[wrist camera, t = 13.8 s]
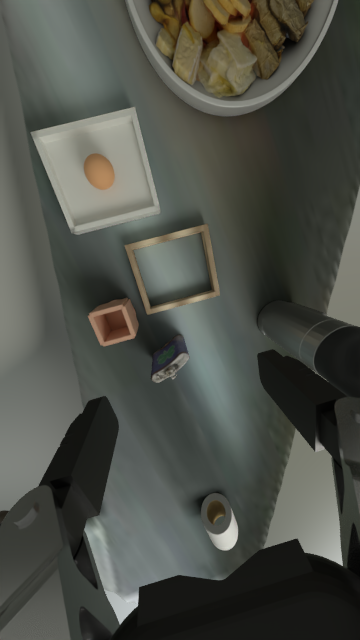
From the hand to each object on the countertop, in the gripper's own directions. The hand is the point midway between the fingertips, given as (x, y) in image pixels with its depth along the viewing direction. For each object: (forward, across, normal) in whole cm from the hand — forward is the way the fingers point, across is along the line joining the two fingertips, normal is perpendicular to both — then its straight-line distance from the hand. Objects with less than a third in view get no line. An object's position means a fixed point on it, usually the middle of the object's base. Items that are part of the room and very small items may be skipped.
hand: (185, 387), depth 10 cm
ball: (+29, +5, -21) cm, 36 cm away
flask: (+32, +3, +14) cm, 35 cm away
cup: (+32, +11, +3) cm, 34 cm away
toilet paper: (+32, +3, +78) cm, 85 cm away
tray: (+32, +5, -21) cm, 39 cm away
